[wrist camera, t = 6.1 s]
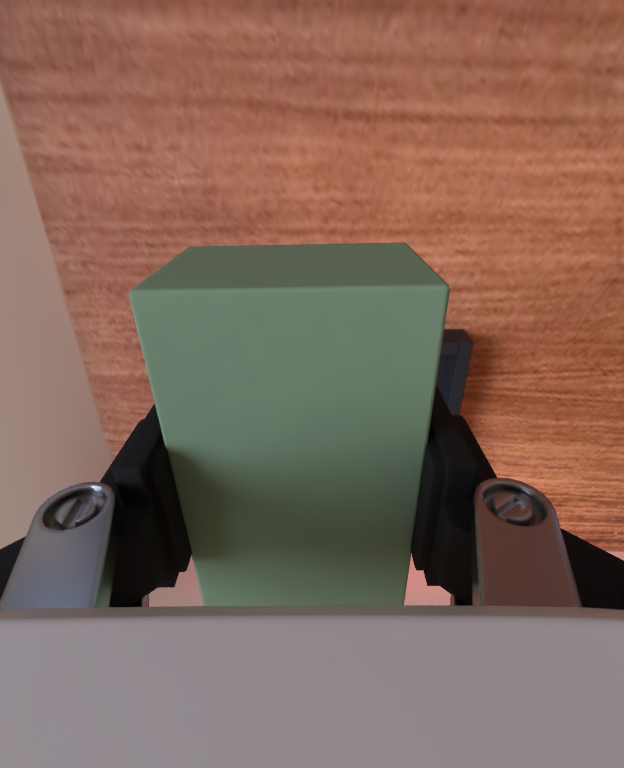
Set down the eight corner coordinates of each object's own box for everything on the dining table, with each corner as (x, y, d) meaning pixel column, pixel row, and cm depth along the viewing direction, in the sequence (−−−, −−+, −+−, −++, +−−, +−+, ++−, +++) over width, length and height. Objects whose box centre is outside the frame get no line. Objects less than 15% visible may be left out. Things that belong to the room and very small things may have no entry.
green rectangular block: (232, 524, 14) (208, 630, 11) (187, 246, 9) (124, 290, 6) (381, 523, 14) (401, 629, 11) (407, 241, 9) (452, 284, 6)
